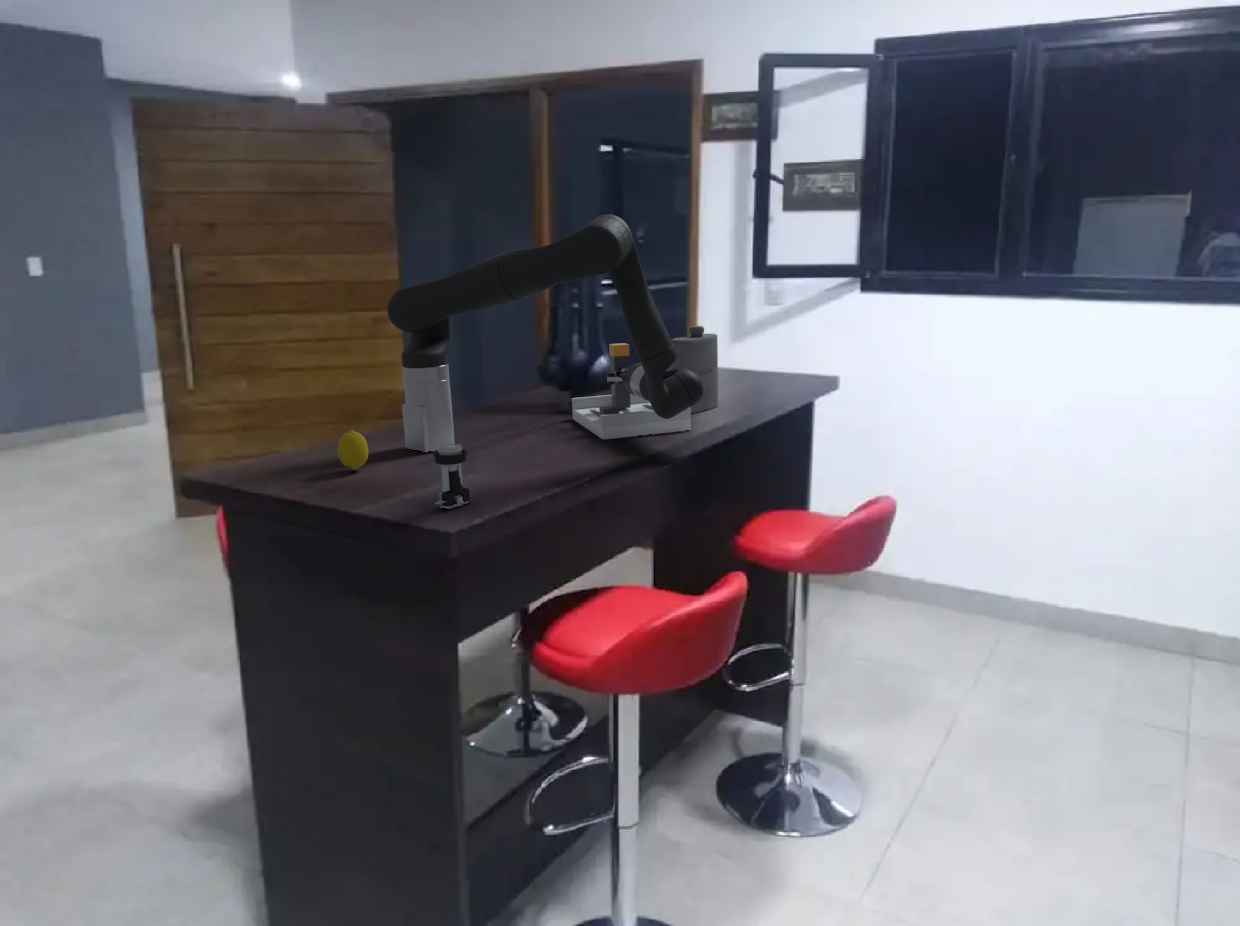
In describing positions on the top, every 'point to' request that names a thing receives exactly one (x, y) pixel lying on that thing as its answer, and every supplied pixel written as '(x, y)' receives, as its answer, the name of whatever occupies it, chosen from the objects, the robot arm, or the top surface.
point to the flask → (700, 363)
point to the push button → (451, 474)
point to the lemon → (352, 449)
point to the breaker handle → (618, 359)
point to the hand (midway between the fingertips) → (621, 371)
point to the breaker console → (625, 418)
